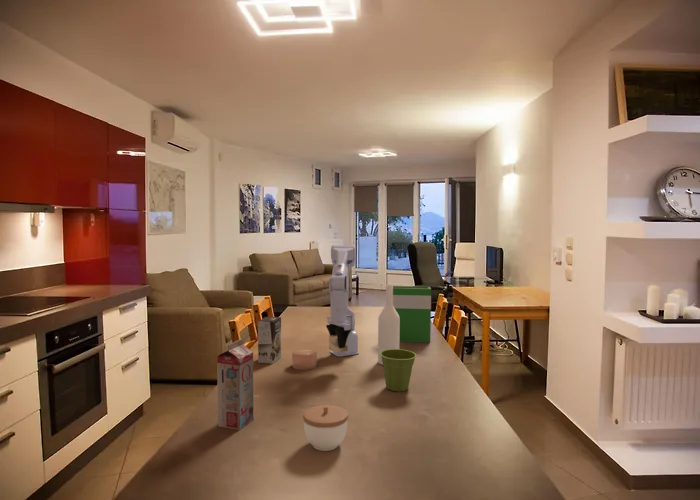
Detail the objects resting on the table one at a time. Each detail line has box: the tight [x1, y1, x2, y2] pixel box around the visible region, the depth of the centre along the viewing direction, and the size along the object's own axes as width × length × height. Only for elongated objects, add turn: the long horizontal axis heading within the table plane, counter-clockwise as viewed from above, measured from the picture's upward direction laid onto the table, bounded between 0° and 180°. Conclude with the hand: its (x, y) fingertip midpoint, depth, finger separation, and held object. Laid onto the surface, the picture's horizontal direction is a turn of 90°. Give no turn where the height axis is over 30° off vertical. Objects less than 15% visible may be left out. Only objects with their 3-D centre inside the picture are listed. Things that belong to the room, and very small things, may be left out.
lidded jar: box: [302, 404, 349, 452], centre depth 112 cm, size 11×11×9 cm
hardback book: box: [393, 285, 432, 343], centre depth 212 cm, size 18×7×24 cm, turn 85°
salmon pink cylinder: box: [291, 349, 318, 371], centre depth 173 cm, size 9×9×5 cm
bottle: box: [377, 283, 400, 366], centre depth 176 cm, size 8×8×30 cm
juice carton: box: [216, 338, 255, 431], centre depth 123 cm, size 7×7×22 cm
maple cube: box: [328, 334, 348, 353], centre depth 168 cm, size 5×5×5 cm
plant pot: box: [380, 348, 418, 392], centre depth 150 cm, size 12×12×11 cm
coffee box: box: [257, 316, 282, 365], centre depth 180 cm, size 9×6×16 cm
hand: (338, 345), depth 168 cm, fingers closed on maple cube, 5 cm apart
